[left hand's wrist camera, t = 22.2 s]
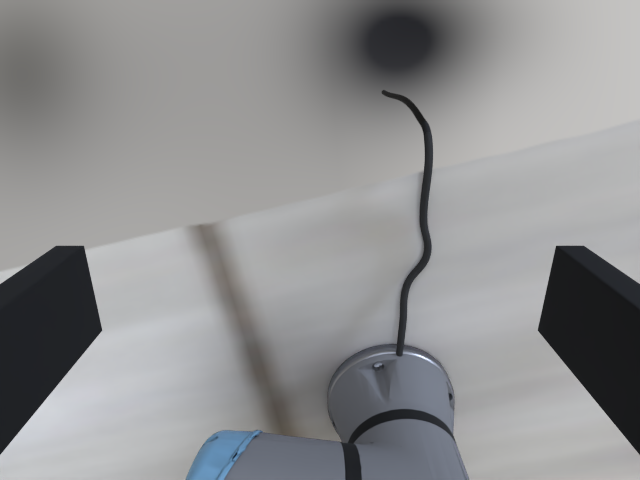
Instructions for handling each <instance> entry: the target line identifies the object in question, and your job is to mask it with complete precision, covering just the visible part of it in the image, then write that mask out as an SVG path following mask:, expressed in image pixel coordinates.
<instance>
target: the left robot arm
mask: <svg viewBox="0 0 640 480" xmlns="http://www.w3.org/2000/svg"><path fill="white" fill-rule="evenodd" d="M382 94H383V95H384V96H386V97H389V98H393V99H396V100H399V101H401V102H403V103H404V104H405V105H407V107H408V108H409V109H410V110H411V111H412V113H413V114H414V116H415V118H416V119H417V121H418V122H419V124H420V125H421V127H422V130H423V135H424V143H425V166H424V176H423V184H422V192H421V202H420V227H421V232H422V236H423V240H424V253H423V256H422V259H421V261H420V262H419V263H418V265H417V266H416V267H415V268H414V269H413V270H412V272H411V273H410V274H409V275H408V277H407V278H406V280H405V282H404V285H403V288H402V292H401V299H400V322H399V331H398V340H397V345H396V344H390V345H380V346H375V347H371V348H368V349H365V350H363V351H360V352H358V353H356V354H355V355H353V356H351V357H350V358H349V359H347V360H346V361H345V362H344V363H343V364H342V365H341V366H340V367H339V368H338V369H337V371H336V372H335V374H334V375H333V377H332V379H331V382H330V385H329V389H328V412H329V416H330V420H331V422H332V424H333V426H334V428H335V430H336V432H337V433H338V435H339V436H340V439H341V441H342V442H337V441H328V440H320V439H311V438H302V437H293V436H285V435H277V434H270V433H263V431H260V430H256V431H254V432H248V431H230V430H224V431H220V432H217V433H215V434H213V435H212V436H211V437H209V438H208V439H207V441H206V442H205V443H204V444H203V446H202V447H201V449H200V450H199V452H198V454H197V456H196V458H195V460H194V462H193V464H192V466H191V468H190V470H189V473H188V475H187V477H186V480H469V477H468V474H467V472H466V469H465V466H464V464H463V461H462V458H461V455H460V453H459V450H458V447H457V445H456V442H455V439H454V436H453V426H454V392H453V388H452V385H451V382H450V380H449V378H448V375H447V373H446V371H445V370H444V368H443V367H442V365H441V364H440V363H439V362H438V361H437V360H436V359H435V358H434V357H432V356H431V355H429V354H428V353H426V352H424V351H422V350H420V349H417V348H414V347H410V346H406V345H404V339H405V330H406V321H407V298H408V293H409V289H410V286H411V284H412V282H413V281H414V279H415V278H416V277H417V276H418V274H419V273H420V272H421V271H422V270H423V269H424V267H425V266H426V265H427V263H428V261H429V258H430V255H431V239H430V235H429V231H428V225H427V209H428V198H429V191H430V183H431V175H432V165H433V143H432V134H431V129H430V126H429V124H428V122H427V121H426V120H425V118H424V117H423V115H422V114H421V112H420V111H419V109H418V108H417V107H416V106H415V104H414V103H413V102H412V101H411V100H410V99H408V98H407V97H405V96H403V95H399V94H395V93H390V92H387V91H386V90H383V91H382ZM101 331H102V327H101V323H100V318H99V314H98V309H97V304H96V300H95V295H94V291H93V286H92V281H91V277H90V272H89V268H88V263H87V258H86V254H85V249H84V246H55V247H54V248H52V249H51V250H50V251H48V252H47V253H45V254H44V255H42V256H41V257H39V258H38V259H36V260H35V261H33V262H32V263H31V264H29V265H28V266H26V267H25V268H23V269H22V270H20V271H19V272H17V273H16V274H15V275H13V276H12V277H10V278H9V279H7V280H6V281H4V282H3V283H1V284H0V454H1V453H2V452H3V451H4V449H5V448H6V447H7V446H8V445H9V443H10V442H11V441H12V440H13V438H14V437H15V436H16V435H17V434H18V432H19V431H20V430H21V429H22V427H23V426H24V425H25V424H26V423H27V421H28V420H29V419H30V418H31V416H32V415H33V414H34V413H35V412H36V410H37V409H38V408H39V407H40V406H41V404H42V403H43V402H44V401H45V399H46V398H47V397H48V396H49V395H50V393H51V392H52V391H53V390H54V388H55V387H56V386H57V385H58V384H59V382H60V381H61V380H62V379H63V377H64V376H65V375H66V374H67V373H68V371H69V370H70V369H71V368H72V367H73V365H74V364H75V363H76V362H77V360H78V359H79V358H80V357H81V356H82V354H83V353H84V352H85V351H86V349H87V348H88V347H89V346H90V345H91V343H92V342H93V341H94V340H95V339H96V337H97V336H98V335H99V334H100V332H101ZM538 331H539V332H540V334H541V335H542V336H543V337H544V339H545V340H546V341H547V342H548V343H549V345H550V346H551V347H552V348H553V349H554V351H555V352H556V353H557V354H558V356H559V357H560V358H561V359H562V360H563V362H564V363H565V364H566V365H567V367H568V368H569V369H570V370H571V371H572V373H573V374H574V375H575V376H576V377H577V379H578V380H579V381H580V382H581V384H582V385H583V386H584V387H585V388H586V390H587V391H588V392H589V393H590V395H591V396H592V397H593V398H594V399H595V401H596V402H597V403H598V404H599V406H600V407H601V408H602V409H603V410H604V412H605V413H606V414H607V415H608V416H609V418H610V419H611V420H612V421H613V423H614V424H615V425H616V426H617V427H618V429H619V430H620V431H621V432H622V434H623V435H624V436H625V437H626V438H627V440H628V441H629V442H630V443H631V445H632V446H633V447H634V448H635V449H636V451H637V452H638V453H639V454H640V284H639V283H637V282H636V281H634V280H633V279H631V278H630V277H628V276H627V275H625V274H624V273H623V272H621V271H620V270H618V269H617V268H615V267H614V266H612V265H611V264H609V263H608V262H607V261H605V260H604V259H602V258H601V257H599V256H598V255H596V254H595V253H593V252H592V251H591V250H589V249H588V248H586V247H585V246H556V249H555V254H554V258H553V263H552V268H551V272H550V277H549V281H548V286H547V291H546V295H545V300H544V304H543V309H542V314H541V318H540V323H539V327H538Z"/></svg>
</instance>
